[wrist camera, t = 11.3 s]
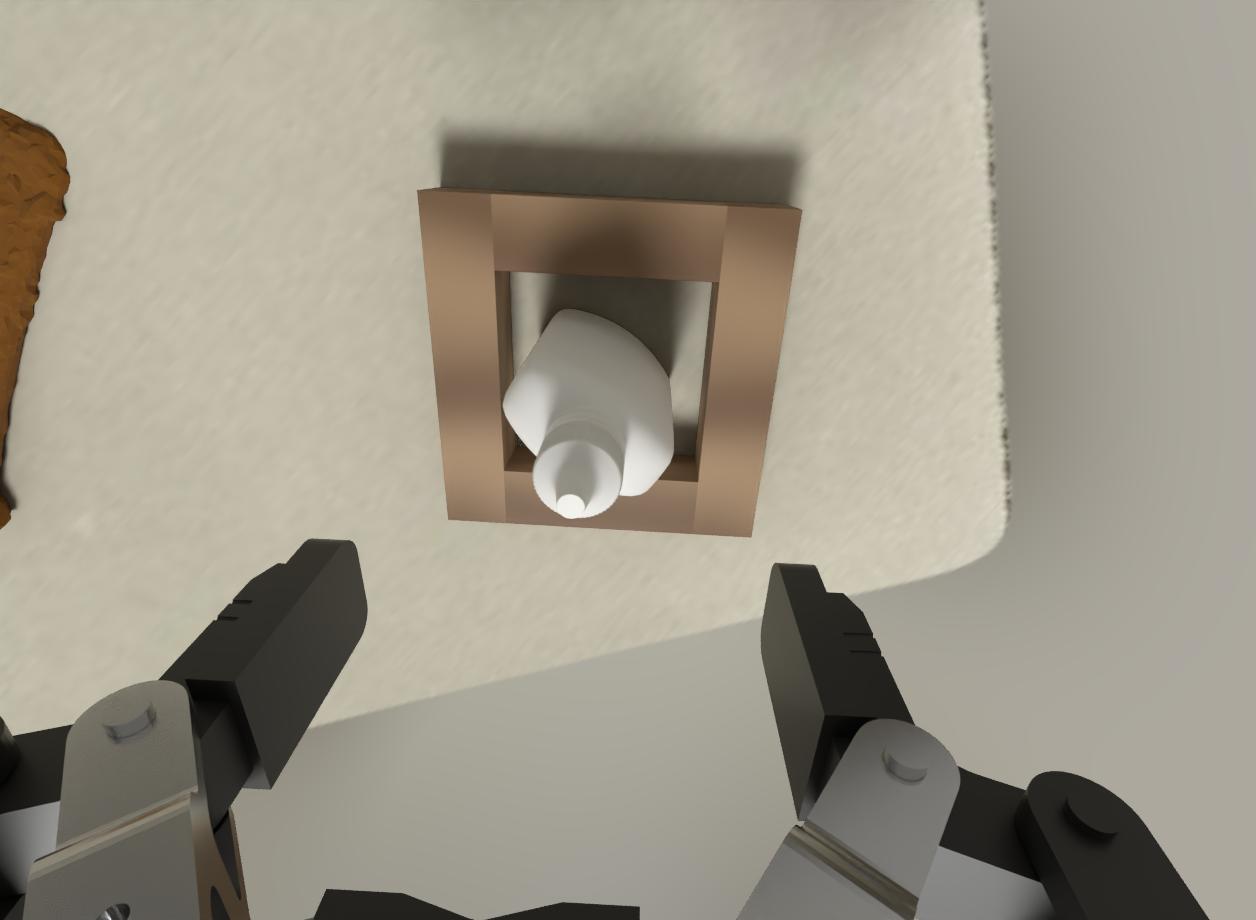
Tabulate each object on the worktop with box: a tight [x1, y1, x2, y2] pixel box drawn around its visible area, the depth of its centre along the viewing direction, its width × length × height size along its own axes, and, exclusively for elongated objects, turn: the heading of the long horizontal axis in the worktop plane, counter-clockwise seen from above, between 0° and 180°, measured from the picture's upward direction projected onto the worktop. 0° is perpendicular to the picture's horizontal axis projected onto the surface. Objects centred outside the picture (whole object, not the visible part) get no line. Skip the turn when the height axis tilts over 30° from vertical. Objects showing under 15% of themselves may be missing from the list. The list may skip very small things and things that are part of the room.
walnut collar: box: [417, 187, 802, 537], centre depth 25 cm, size 13×13×2 cm
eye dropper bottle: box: [503, 309, 674, 519], centre depth 21 cm, size 4×6×12 cm
